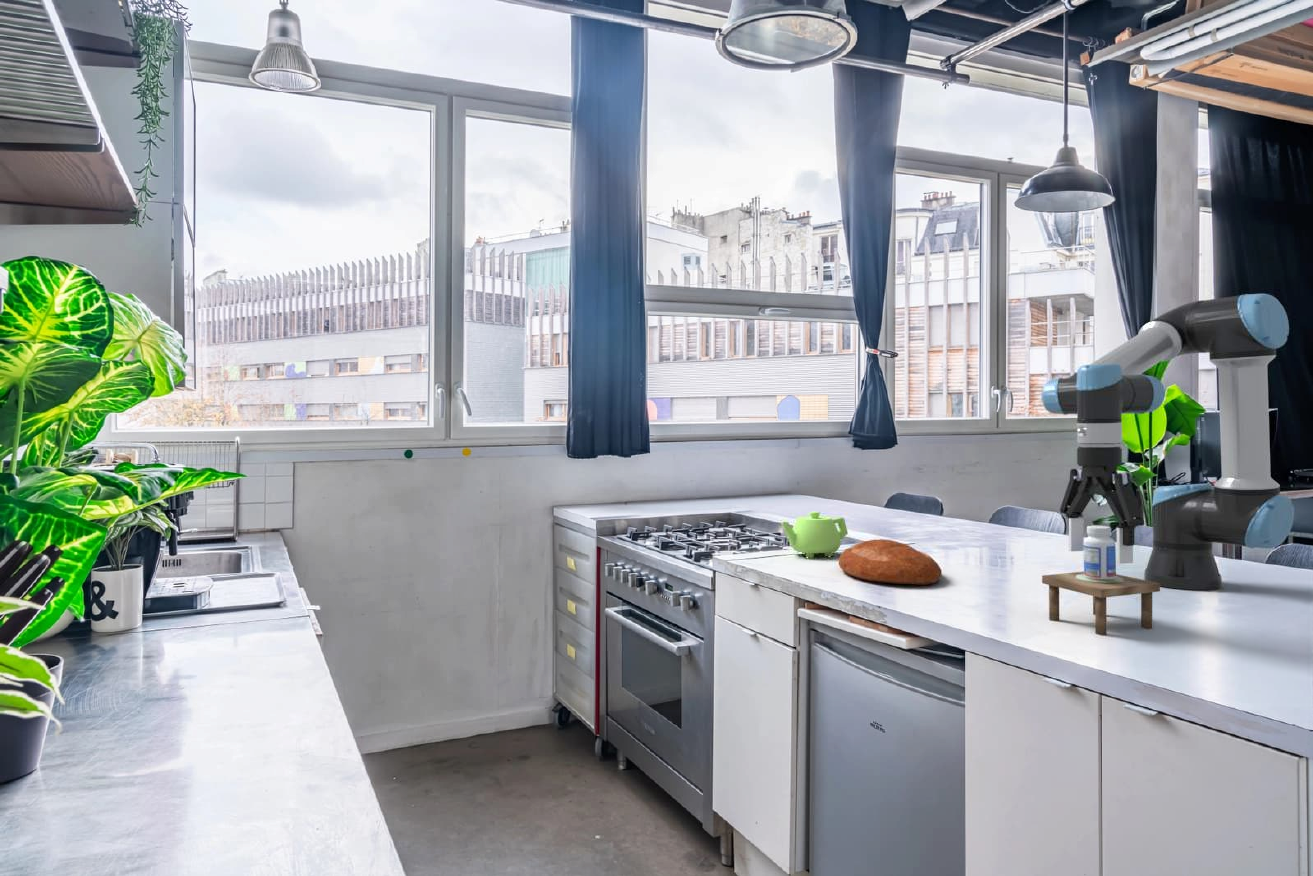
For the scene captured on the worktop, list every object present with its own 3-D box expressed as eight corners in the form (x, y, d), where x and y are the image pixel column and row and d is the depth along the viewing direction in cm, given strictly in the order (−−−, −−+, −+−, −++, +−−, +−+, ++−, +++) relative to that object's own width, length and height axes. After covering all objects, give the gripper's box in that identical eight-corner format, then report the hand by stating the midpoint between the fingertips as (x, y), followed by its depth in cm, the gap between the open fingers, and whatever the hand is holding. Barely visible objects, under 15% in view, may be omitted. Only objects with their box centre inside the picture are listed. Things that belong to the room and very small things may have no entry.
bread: (891, 562, 225) (891, 530, 224) (968, 585, 194) (967, 547, 194) (817, 568, 218) (817, 535, 218) (885, 592, 187) (885, 554, 187)
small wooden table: (1097, 612, 165) (1097, 568, 165) (1160, 628, 152) (1159, 581, 152) (1042, 618, 161) (1042, 574, 161) (1101, 636, 148) (1101, 588, 147)
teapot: (790, 561, 228) (790, 516, 228) (773, 553, 241) (773, 510, 241) (857, 557, 232) (856, 513, 232) (836, 549, 245) (836, 508, 245)
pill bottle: (1110, 575, 158) (1110, 525, 158) (1120, 580, 153) (1120, 528, 153) (1079, 574, 159) (1079, 524, 159) (1088, 580, 154) (1088, 528, 154)
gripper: (1040, 443, 167) (1041, 547, 168) (1128, 448, 143) (1128, 569, 143) (1074, 442, 168) (1075, 545, 169) (1166, 447, 144) (1166, 567, 144)
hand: (1099, 556), depth 156 cm, fingers open, 13 cm apart
